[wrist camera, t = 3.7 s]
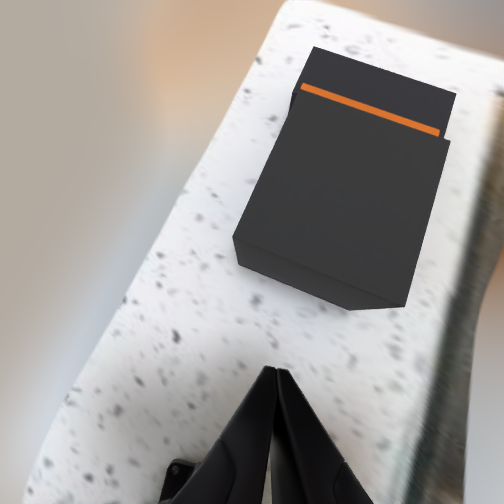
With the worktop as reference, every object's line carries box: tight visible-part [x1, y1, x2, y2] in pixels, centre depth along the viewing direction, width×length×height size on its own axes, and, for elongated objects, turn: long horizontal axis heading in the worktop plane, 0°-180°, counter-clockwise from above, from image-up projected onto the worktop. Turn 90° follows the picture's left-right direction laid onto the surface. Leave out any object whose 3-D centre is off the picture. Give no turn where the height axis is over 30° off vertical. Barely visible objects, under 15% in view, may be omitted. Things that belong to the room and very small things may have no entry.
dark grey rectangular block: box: [288, 46, 456, 138], centre depth 23 cm, size 5×12×5 cm, turn 67°
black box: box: [232, 89, 451, 311], centre depth 20 cm, size 11×10×8 cm
